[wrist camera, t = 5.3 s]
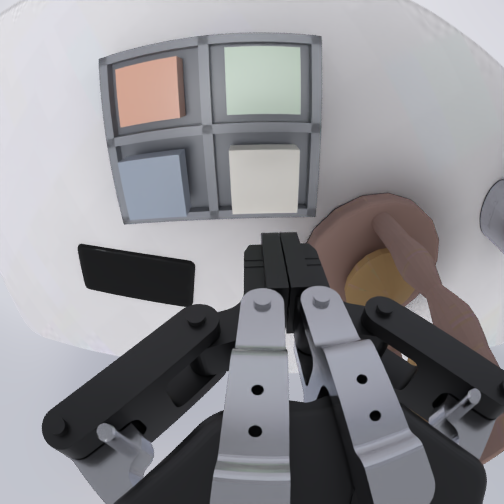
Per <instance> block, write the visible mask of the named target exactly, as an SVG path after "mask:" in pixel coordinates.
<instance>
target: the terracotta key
mask: <svg viewBox="0 0 504 504" xmlns="http://www.w3.org/2000/svg"><path fill="white" fill-rule="evenodd" d="M115 75H116V89H117V100H118V110H119V119H120V127H126V126H131V125H137V124H142V123H148V122H154V121H161V120H168V119H175V118H181V117H183V116H186V112H185V98H184V81H183V61H182V58H180V57H177V56H173V57H168V58H162V59H157V60H152V61H147V62H143V63H138V64H134V65H130V66H126V67H123V68H119V69H115Z"/></svg>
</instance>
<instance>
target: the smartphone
mask: <svg viewBox="0 0 504 504" xmlns="http://www.w3.org/2000/svg"><path fill="white" fill-rule="evenodd" d="M119 251H120V252H119ZM78 254H79V259H80V264H81V269H82V273H83V278H84V282H85V285H86V287H87V288H88V289H92V290H96V291H101V292H106V293H111V294H115V295H120V296H126V297H131V298H136V299H142V300H147V301H153V302H159V303H165V304H171V305H177V306H184V307H188V306H191V305H192V304H193V292H194V276H195V264H194V263H193V262H192V261H188V260H182V259H175V258H168V257H162V256H155V255H148V254H142V253H135V252H129V251H123V250H116V249H110V248H104V247H98V246H92V245H85V244H80V245H79V246H78Z"/></svg>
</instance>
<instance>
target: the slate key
mask: <svg viewBox="0 0 504 504" xmlns="http://www.w3.org/2000/svg"><path fill="white" fill-rule="evenodd" d="M118 167H119V172H120V177H121V182H122V187H123V192H124V197H125V201H126V206H127V210H128V214H129V218H130V220H139V219H154V218H169V217H186V216H187V215H188V213H189V210H190V208H191V200H190V192H189V184H188V175H187V166H186V157H185V149H178V150H169V151H161V152H153V153H145V154H139V155H132V156H127V157H126V158H124V159H123V160H121V161H120V162H118Z"/></svg>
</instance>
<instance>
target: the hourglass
mask: <svg viewBox="0 0 504 504" xmlns="http://www.w3.org/2000/svg"><path fill="white" fill-rule="evenodd" d="M307 243H309V244H310V245H311V246H312V247H314V248H315V249H316V251H317V253H318V256H319V259H320V261H321V264H322V267H323V269H324V272H325V275H326V277H327V280H328V283H329V286H330V288H331V289H333V290H334V291H336V292H337V293H338V294H339V295H340V297H341V299H342V301H344V302H347V303H351V304H356V305H362V306H365V304H366V302H367V301H368V300H369V299H370V298H372V297H376V296H383V297H388V298H390V299H392V300H394V301H396V302H397V303H399V304H401V305H402V306H404V307H405V306H406V305H407V304H408V303H410V302H411V301H412V300H413V299H414V298H416V297H417V295H418V294H419V293H420V294H422V295H423V296H424V297H425V298H427V301H428V305H429V309H430V313H431V318H432V322H433V325H435V326H436V327H438V328H440V329H441V330H443V331H444V332H446V333H447V334H449V335H451V336H452V337H454V338H455V339H457V340H458V341H460V342H462V343H463V344H465V345H466V346H468V347H469V348H471V349H472V350H474V351H475V352H477V353H478V354H480V355H482V356H483V357H485V358H486V359H488V360H489V361H491V362H492V363H494V364H495V365H497V366H498V367H499V365H498V363H497V361H496V359H495V357H494V355H493V354H492V352H491V350H490V348H489V346H488V343H487V340H486V337H485V335H484V332H483V330H482V327H481V325H480V323H479V320H478V318H477V317H476V315H475V314H474V312H473V311H472V309H471V308H470V306H469V305H468V304H467V303H465V302H464V301H463V300H461V299H460V298H459V297H458V296H456V295H455V294H454V293H452V292H451V291H450V290H448V289H447V288H445V287H444V286H443V285H442V283H441V280H440V277H439V274H438V271H437V269H436V266H435V265H436V262H437V258H438V244H439V238H438V235H437V232H436V229H435V226H434V224H433V221H432V219H431V218H430V217H429V216H428V215H427V214H426V213H425V212H424V211H423V210H422V209H421V208H419V207H418V206H417V205H416V204H415V203H414V202H413V201H412V200H410V199H407V198H403V197H400V196H397V195H393V194H390V193H383V194H375V195H366V196H361V197H359V198H357V199H355V200H353V201H351V202H349V203H347V204H345V205H343V206H341V207H339V208H337V209H335V210H334V211H333V212H332V213H331V214H330V215H329V216H328V217H327V218H326V219H324V220H323V221H322V222H321V223H320V224H319V225H318V226H317V227H316V228H315V229H314V230H313V232H312V234H311V236H310V238H309V240H308V242H307ZM387 348H388V349H389V350H391V351H392V352H394V353H395V354H396V355H398V356H399V357H401V358H402V355H401V353H400V352H399V351H397V350H396V349H394V348H393V347H391V346H390V345H388V347H387ZM407 362H408V363H410V364H412V365H415V366H417V364H416V363H415V362H414V361H412V360H411V359H409V358H408V361H407ZM499 368H500V367H499ZM414 413H415V412H414ZM417 415H418V414H417ZM418 416H419V415H418ZM420 417H421V416H420ZM421 418H422V417H421ZM422 419H424V418H422ZM424 420H425V419H424ZM425 421H426V422H428V421H427V420H425ZM428 423H429V422H428ZM503 451H504V413H503V414H501V415H500V416H499V417H498V418H497V419H496V420H495V423H494V426H493V429H492V431H491V434H490V436H489V439H488V441H487V444H486V446H485V448H484V451H483V453H482V455H481V457H480V459H479V460H480V462H481V463H482V464H485V463H486V462H488V461H490V460H491V459H492V458H494V457H496V456H497V455H499V454H500V453H501V452H503Z"/></svg>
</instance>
